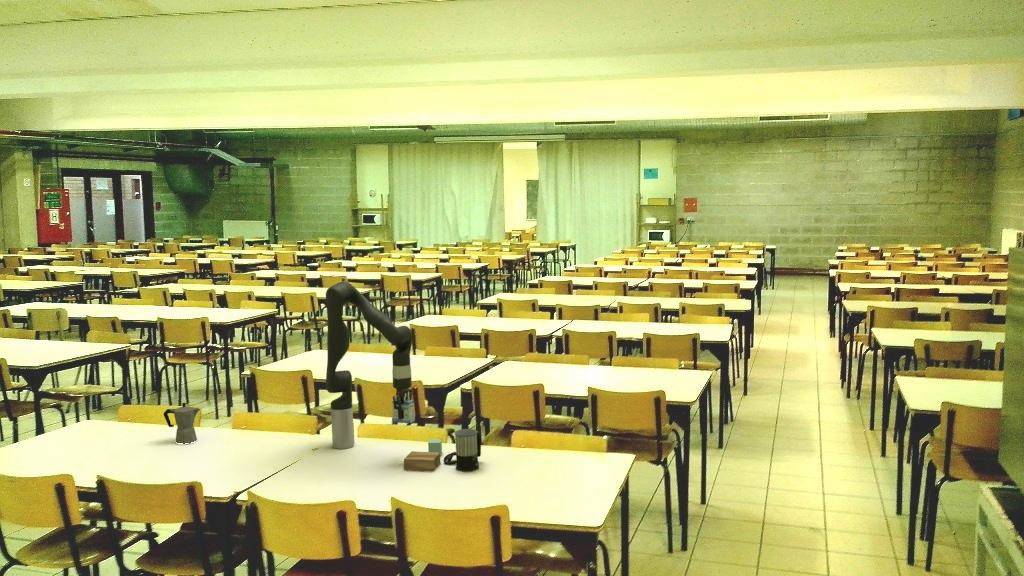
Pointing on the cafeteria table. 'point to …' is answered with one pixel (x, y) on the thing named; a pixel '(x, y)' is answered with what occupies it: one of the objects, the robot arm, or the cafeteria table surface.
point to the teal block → (435, 446)
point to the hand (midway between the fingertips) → (403, 417)
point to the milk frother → (466, 450)
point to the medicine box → (405, 412)
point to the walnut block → (421, 461)
